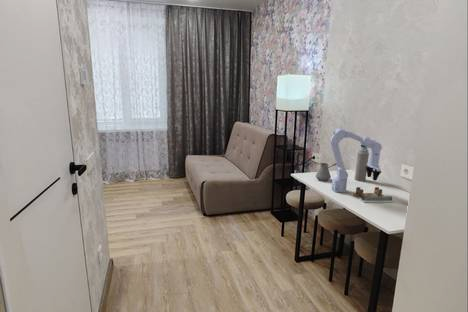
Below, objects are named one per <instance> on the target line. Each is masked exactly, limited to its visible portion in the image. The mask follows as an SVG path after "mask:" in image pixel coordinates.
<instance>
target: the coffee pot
mask: <svg viewBox="0 0 468 312" xmlns="http://www.w3.org/2000/svg"><path fill="white" fill-rule="evenodd" d="M319 164H320V167H319V169H318V170H317V172H316V174H315V177H316V179H317V180H318V181H321V182H327V181H329V180H330V179H331V173H330V171H329V168H331V167H333V166H337V165H336V163H333V164H332V165H330V164H329V163H326V162H320V163H319ZM343 164H345V162H344V161H343Z"/></svg>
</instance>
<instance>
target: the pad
mask: <svg viewBox="0 0 468 312" xmlns="http://www.w3.org/2000/svg"><path fill="white" fill-rule="evenodd" d="M361 198H362V197H358V199H359V200H360V201H362V202H363V203H365V204H366V203H378V204H379V203H395V200H393V199H392V200H362V199H361Z"/></svg>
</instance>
